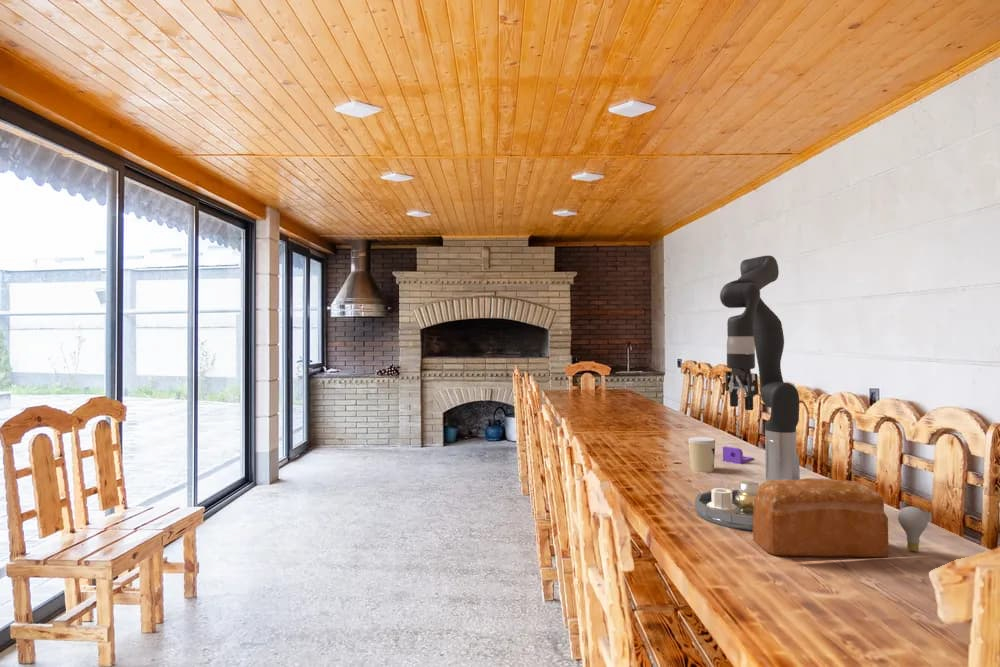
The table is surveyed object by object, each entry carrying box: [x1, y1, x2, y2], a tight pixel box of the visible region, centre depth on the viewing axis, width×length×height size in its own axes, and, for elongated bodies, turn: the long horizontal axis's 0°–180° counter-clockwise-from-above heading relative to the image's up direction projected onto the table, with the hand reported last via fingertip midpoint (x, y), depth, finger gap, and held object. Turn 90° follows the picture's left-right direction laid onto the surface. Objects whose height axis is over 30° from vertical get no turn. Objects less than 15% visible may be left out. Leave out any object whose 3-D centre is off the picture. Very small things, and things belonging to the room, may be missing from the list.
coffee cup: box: [687, 436, 717, 474], centre depth 208 cm, size 9×9×12 cm
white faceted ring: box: [707, 487, 737, 514], centre depth 155 cm, size 7×7×6 cm
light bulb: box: [897, 506, 929, 553], centre depth 129 cm, size 5×5×10 cm
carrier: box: [694, 480, 760, 532], centre depth 156 cm, size 27×27×7 cm
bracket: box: [722, 446, 755, 465], centre depth 222 cm, size 12×7×7 cm, turn 131°
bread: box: [752, 477, 890, 558], centre depth 132 cm, size 14×26×16 cm, turn 87°
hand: (741, 408), depth 165 cm, fingers open, 8 cm apart
